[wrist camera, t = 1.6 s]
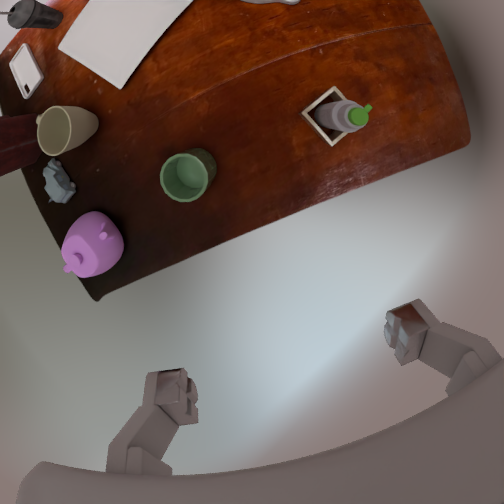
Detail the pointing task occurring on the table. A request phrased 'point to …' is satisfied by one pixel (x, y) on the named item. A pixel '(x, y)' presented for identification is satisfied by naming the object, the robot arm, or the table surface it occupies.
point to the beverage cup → (33, 15)
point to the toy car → (58, 182)
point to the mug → (64, 128)
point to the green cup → (188, 174)
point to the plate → (118, 34)
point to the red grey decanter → (18, 142)
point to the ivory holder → (330, 139)
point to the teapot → (92, 245)
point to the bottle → (342, 115)
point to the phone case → (26, 70)
